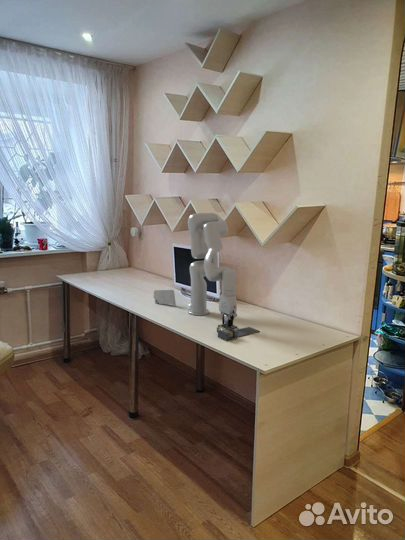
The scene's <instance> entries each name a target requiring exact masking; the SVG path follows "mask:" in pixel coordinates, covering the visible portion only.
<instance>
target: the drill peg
mask: <svg viewBox="0 0 405 540" xmlns="http://www.w3.org/2000/svg"><path fill="white" fill-rule="evenodd" d="M231 316H232V315H231ZM228 319H229V315H228V314H225V313H224V326H223V327H225V328H227V327H228ZM230 327H232V326H230ZM230 327H229V328H230Z"/></svg>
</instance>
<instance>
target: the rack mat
mask: <svg viewBox="0 0 405 540" xmlns="http://www.w3.org/2000/svg"><path fill="white" fill-rule="evenodd" d="M235 330H236V331H238V335H237V338H241V337H245V336H249V335H254V334H256V333H259V332H260V330H259V329H256V328H254V327H251V326H246V327H243V328H239V329H238V328H237V329H235Z"/></svg>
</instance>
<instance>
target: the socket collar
mask: <svg viewBox="0 0 405 540" xmlns="http://www.w3.org/2000/svg"><path fill="white" fill-rule="evenodd" d="M220 326H221V327H223V328H225V327H224V324H222V323H221V324H218V325H217V327H220ZM230 328H232V329H234V330H236V329H238V326H237V325H235V324H233V326H231V327H230ZM225 329H226V328H225Z"/></svg>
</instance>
